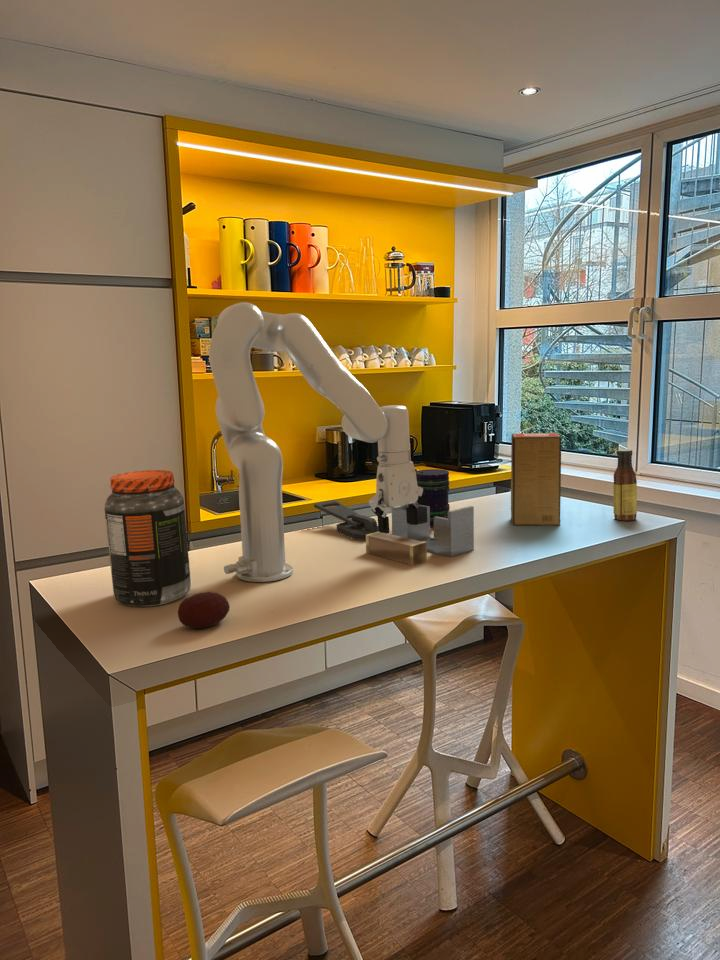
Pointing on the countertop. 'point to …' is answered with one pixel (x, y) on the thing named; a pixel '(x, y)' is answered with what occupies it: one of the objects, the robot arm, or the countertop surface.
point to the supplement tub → (147, 538)
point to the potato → (203, 610)
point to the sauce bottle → (625, 487)
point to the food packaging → (535, 479)
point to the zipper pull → (349, 520)
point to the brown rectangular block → (396, 548)
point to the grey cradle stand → (438, 529)
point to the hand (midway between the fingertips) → (398, 528)
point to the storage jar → (434, 492)
